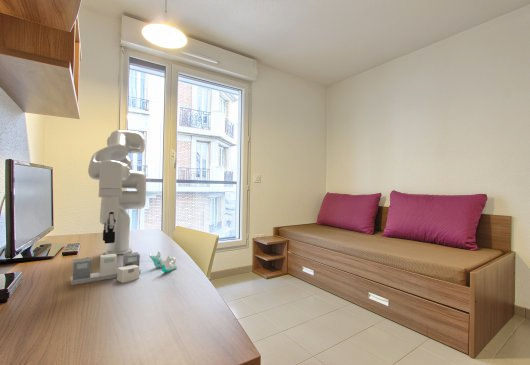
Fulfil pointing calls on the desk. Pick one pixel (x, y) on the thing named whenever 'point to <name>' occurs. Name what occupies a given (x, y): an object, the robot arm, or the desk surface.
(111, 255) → the block
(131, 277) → the block
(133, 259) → the rail
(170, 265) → the jawbone
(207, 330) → the desk surface
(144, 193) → the robot arm
